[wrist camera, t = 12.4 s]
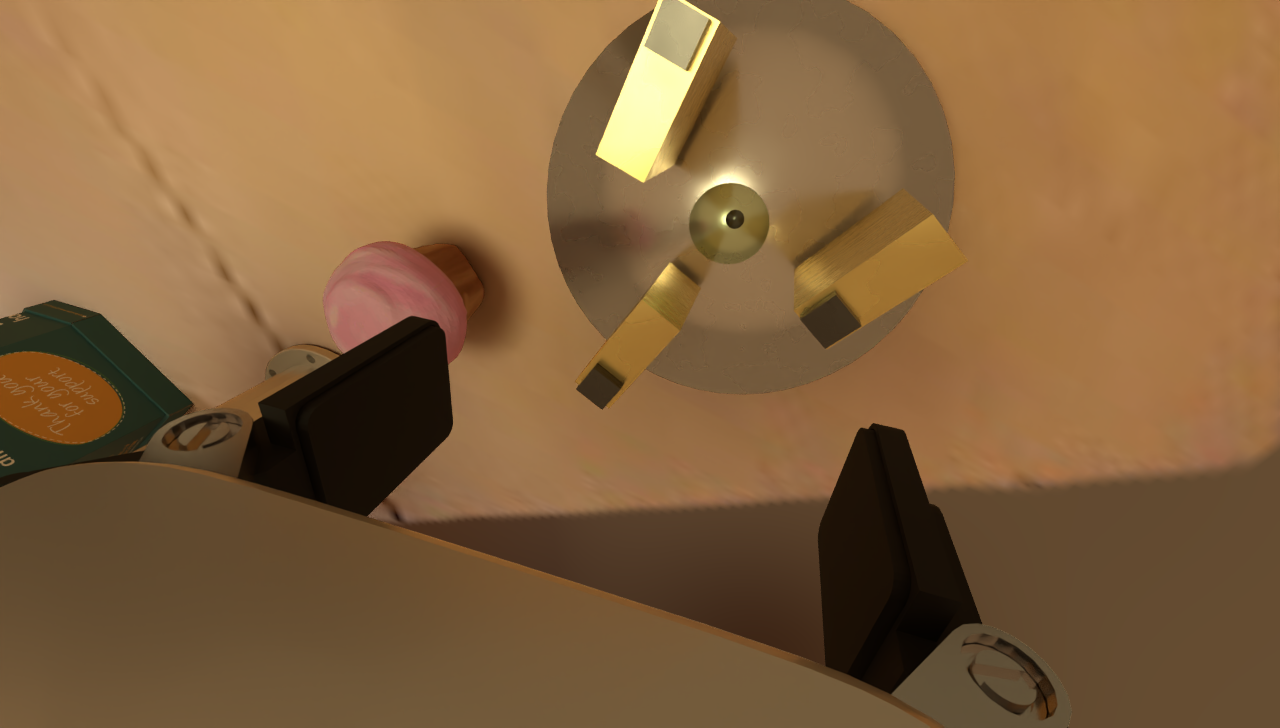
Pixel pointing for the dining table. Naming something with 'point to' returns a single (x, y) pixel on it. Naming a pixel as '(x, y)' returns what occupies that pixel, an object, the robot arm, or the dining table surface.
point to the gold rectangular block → (665, 89)
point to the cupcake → (401, 292)
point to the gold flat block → (872, 268)
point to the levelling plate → (750, 187)
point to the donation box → (75, 390)
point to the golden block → (639, 337)
